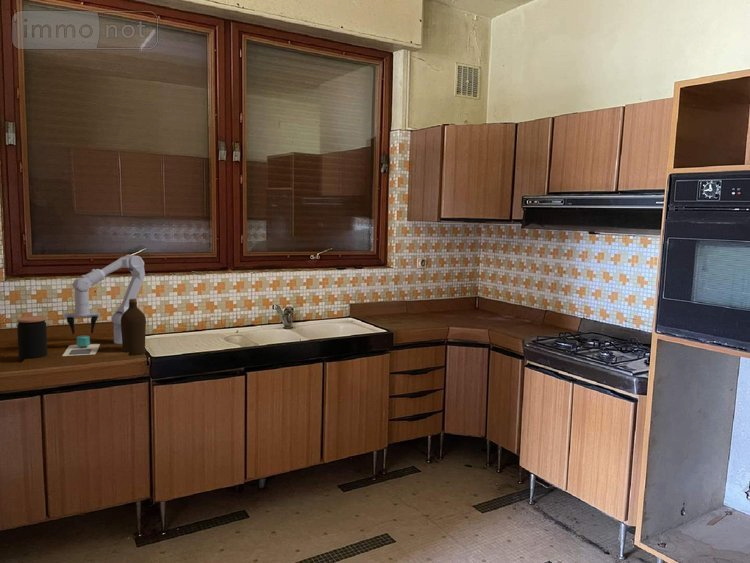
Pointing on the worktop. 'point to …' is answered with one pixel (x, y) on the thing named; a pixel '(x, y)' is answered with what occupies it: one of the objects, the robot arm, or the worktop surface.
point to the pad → (80, 351)
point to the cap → (83, 340)
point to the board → (75, 347)
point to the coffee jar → (32, 337)
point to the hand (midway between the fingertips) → (82, 333)
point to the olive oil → (133, 329)
